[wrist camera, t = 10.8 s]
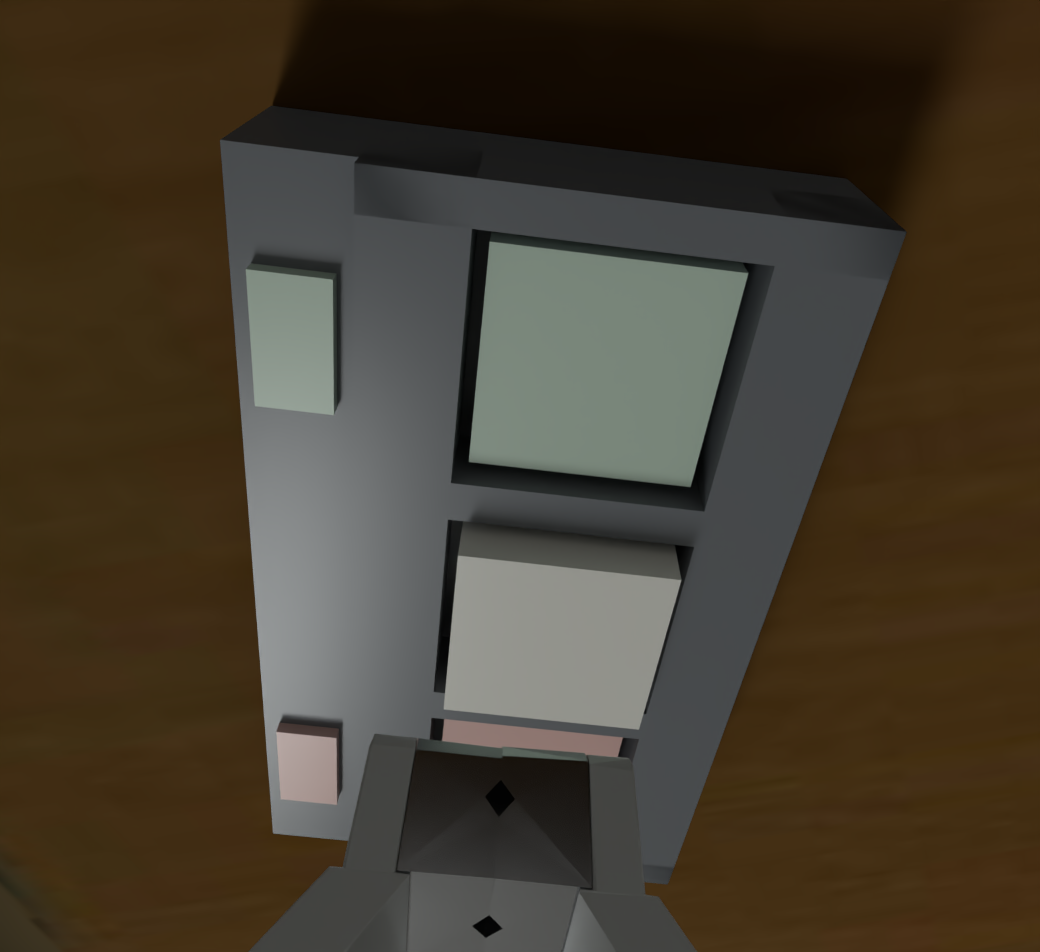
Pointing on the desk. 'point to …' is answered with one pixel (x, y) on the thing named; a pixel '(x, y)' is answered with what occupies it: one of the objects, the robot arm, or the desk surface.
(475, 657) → the ivory key
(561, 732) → the rose key
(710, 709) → the keypad
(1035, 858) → the desk surface
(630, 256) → the sage key
